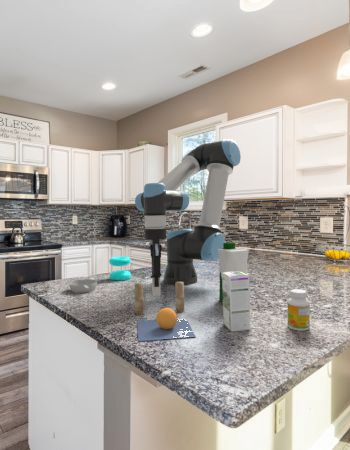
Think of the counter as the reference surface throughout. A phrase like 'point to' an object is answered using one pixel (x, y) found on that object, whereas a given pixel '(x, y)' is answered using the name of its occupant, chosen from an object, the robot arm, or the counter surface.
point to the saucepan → (83, 285)
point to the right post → (179, 296)
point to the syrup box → (236, 300)
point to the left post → (139, 299)
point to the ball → (166, 318)
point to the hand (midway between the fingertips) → (156, 295)
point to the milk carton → (231, 261)
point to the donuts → (120, 273)
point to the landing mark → (161, 330)
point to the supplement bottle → (298, 310)
